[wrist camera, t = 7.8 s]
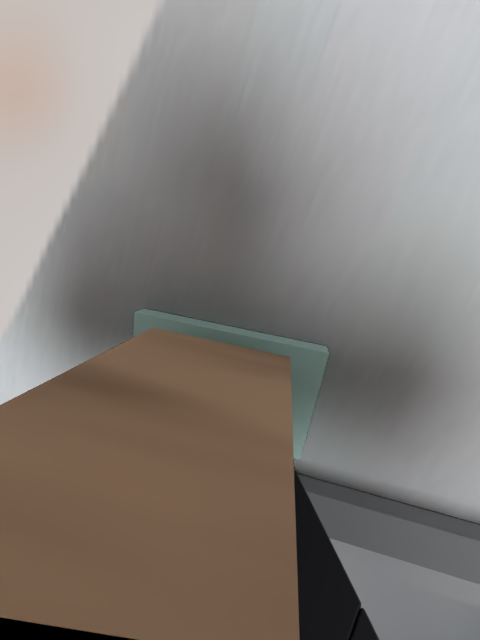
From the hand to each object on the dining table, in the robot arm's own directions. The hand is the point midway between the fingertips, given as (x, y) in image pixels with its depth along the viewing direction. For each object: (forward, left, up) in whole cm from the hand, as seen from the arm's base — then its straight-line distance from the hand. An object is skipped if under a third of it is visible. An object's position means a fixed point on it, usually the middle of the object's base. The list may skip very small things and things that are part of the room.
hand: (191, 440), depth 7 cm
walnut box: (0, 0, -2) cm, 2 cm away
